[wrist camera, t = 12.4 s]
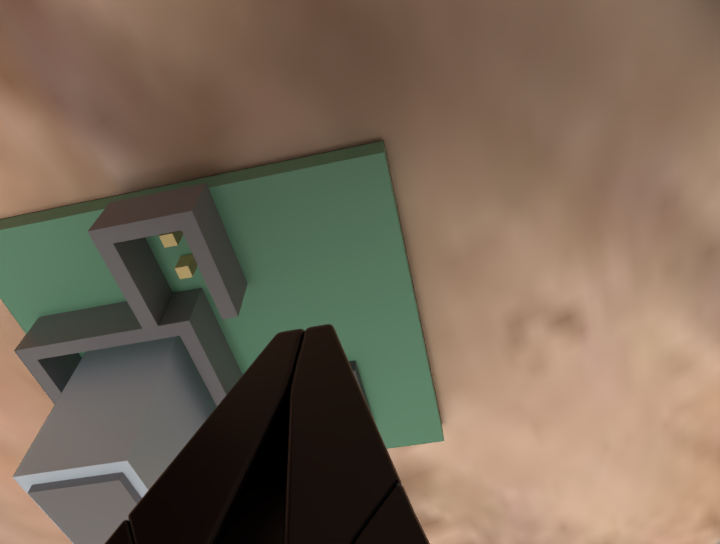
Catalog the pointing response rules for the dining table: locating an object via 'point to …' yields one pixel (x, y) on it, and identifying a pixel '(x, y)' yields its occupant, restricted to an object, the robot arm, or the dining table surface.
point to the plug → (113, 435)
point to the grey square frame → (128, 341)
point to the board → (248, 268)
